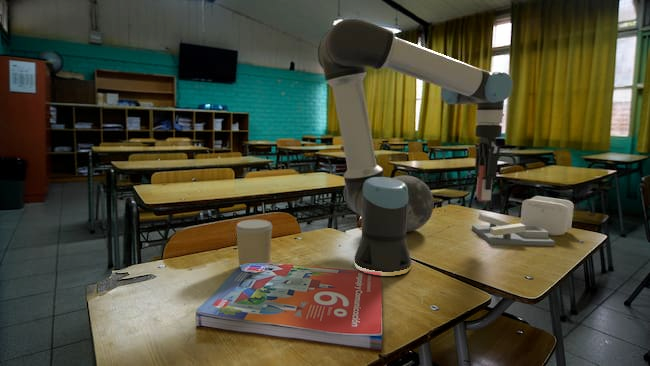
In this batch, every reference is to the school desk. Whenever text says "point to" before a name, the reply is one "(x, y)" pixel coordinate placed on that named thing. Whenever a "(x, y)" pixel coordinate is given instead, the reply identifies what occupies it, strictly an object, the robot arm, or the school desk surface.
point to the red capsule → (480, 182)
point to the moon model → (417, 202)
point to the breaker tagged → (507, 229)
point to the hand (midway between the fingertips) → (483, 198)
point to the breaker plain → (492, 220)
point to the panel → (516, 236)
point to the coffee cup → (254, 241)
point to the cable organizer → (548, 214)
